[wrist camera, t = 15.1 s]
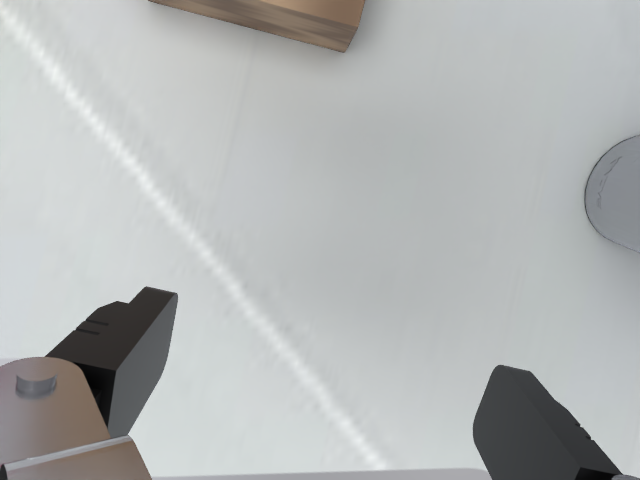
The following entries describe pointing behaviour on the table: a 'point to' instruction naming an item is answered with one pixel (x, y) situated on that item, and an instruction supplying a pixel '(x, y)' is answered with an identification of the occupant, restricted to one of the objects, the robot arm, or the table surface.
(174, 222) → the table surface
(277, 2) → the shelf
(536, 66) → the table surface
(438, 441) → the table surface
